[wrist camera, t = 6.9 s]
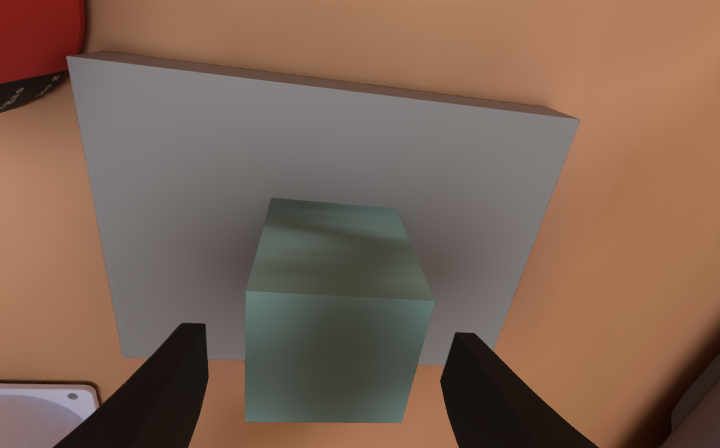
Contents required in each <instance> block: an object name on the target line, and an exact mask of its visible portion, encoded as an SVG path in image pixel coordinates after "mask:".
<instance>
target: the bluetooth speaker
mask: <svg viewBox="0 0 720 448" xmlns="http://www.w3.org/2000/svg"><path fill="white" fill-rule="evenodd" d="M710 388H711V389H710ZM701 398H702V399H701ZM695 405H696V406H695ZM694 406H695V407H694ZM671 423H672V432H671V434H670V435H669V437H668V438H667V439H666V440H665V441H664V443H663V444H662V445H661V446H660V447H659V448H720V353H719V354H718V355H717V357H716V358H715V359H714V360H713V361H712V362H711V363H710V365H709V366H708V367H707V368H706V369H705V370H704V372H703V373H702V374H701V375H700V376H699V377H698V378H697V380H696V381H695V382H694V383H693V384H692V385H691V386H690V388H689V389H688V390H687V391H686V393H685V394H684V395H683V397H682V398H681V399H680V401H679V402H678V403H677V405H676V406H675V408H674V410H673V412H672V414H671Z"/></svg>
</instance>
